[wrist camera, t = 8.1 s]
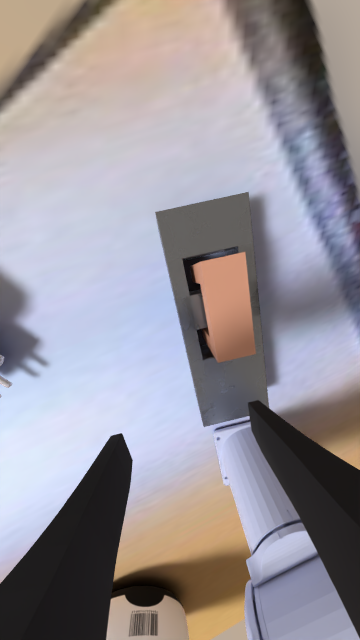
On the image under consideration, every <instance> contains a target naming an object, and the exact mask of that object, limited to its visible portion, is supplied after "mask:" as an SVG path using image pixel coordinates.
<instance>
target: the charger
mask: <svg viewBox="0 0 360 640" xmlns="http://www.w3.org/2000/svg"><path fill="white" fill-rule="evenodd" d="M4 358H5V357H3V356H2V355H0V366H1V365H2V364H3V361H4ZM0 384H2V385H3V386H5V387H7V388H8V387H10V386H11V385H12V383H11V382H9V381H8V380H6V379H5V378H3V377H2V376H0ZM0 397H1V395H0Z"/></svg>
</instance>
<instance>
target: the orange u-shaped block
mask: <svg viewBox="0 0 360 640" xmlns="http://www.w3.org/2000/svg"><path fill="white" fill-rule="evenodd" d="M190 272H191V277H192V282H194V283H199V284H200V285H201V291H202V296H203V302H204V308H205V313H206V319H207V324H208V327H206V328H202V329H201V330H202V335H203V339H204V340H205V342H206V344H207V345H208V347H209V349H210V350H211V352H212V354H213V355H214V357H215V359H216V360H217V362H218V363H220V362H224V361H228V360H232V359H237V358H241V357H245V356H249V355H254V354H256V350H255V341H254V331H253V322H252V312H251V303H250V293H249V284H248V274H247V264H246V255H245V252H242V253H237V254H233V255H228V256H224V257H219V258H215V259H210V260H206V261H201V262H199V263H196V264H194V265H192V266H190Z"/></svg>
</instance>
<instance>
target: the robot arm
mask: <svg viewBox="0 0 360 640" xmlns="http://www.w3.org/2000/svg"><path fill="white" fill-rule="evenodd" d="M248 408H249V416H250V422H247V423H243V424H239V425H235V426H231V427H227V428H223V429H219V430H215V431H214V432H213V436H214V441H215V445H216V450H217V455H218V460H219V464H220V469H221V474H222V479H223V483H224V485H226V486H228V485H230V487H231V490H232V493H233V497H234V500H235V503H236V506H237V510H238V513H239V516H240V519H241V523H242V526H243V529H244V533H245V536H246V539H247V542H248V546H249V549H250V552H251V555H252V556H251V557H250V558H248V559H247V560H246V563H247V566H248V570H249V574H250V577H251V580H249V581H248V582H247V584H246V588H245V606H244V610H245V623H246V631H247V637H248V640H360V470H359V469H357V468H355V467H354V466H352V465H350V464H349V463H347V462H345V461H344V460H342V459H340V458H339V457H337V456H335V455H334V454H332V453H331V452H329V451H328V450H326V449H325V448H323V447H321V446H320V445H319V444H317V443H316V442H314V441H313V440H311V439H310V438H308V437H307V436H305V435H304V434H302V433H301V432H300V431H298V430H297V429H296V428H294V427H293V426H291V425H290V424H289V423H287V422H286V421H285V420H283V419H282V418H281V417H279V416H278V415H277V414H276V413H274V412H273V411H272V410H271V409H269V408H268V407H267V406H266V405H264V404H263V403H262V402H261V401H259V400H256V401H252V402H248ZM132 461H133V460H132V458H131V455H130V453H129V450H128V447H127V445H126V442H125V440H124V437H123V435H122V433H121V434H117V435H113V436H111V437H110V438H109V440H108V441H107V443H106V444H105V446H104V447H103V449H102V450H101V452H100V453H99V455H98V456H97V458H96V459H95V461H94V462H93V464H92V466H91V467H90V468H89V470H88V471H87V473H86V474H85V476H84V477H83V479H82V480H81V482H80V483H79V485H78V486H77V488H76V489H75V490H74V492H73V493H72V495H71V496H70V497H69V499H68V500H67V501H66V503H65V504H64V506H63V507H62V508H61V510H60V511H59V513H58V514H57V515H56V517H55V518H54V519H53V520H52V522H51V523H50V524H49V526H48V527H47V528H46V530H45V531H44V532H43V533H42V535H41V536H40V537H39V538H38V540H37V541H36V542H35V543H34V545H33V546H32V547H31V548H30V550H29V551H28V552H27V553H26V554H25V556H24V557H23V558H22V559H21V560H20V561H19V563H18V564H17V565H16V566H15V567H14V568H13V570H12V571H11V572H10V573H9V574H8V575H7V577H6V578H5V579H4V580H3V581H2V583H1V584H0V640H106V637H107V628H108V619H109V610H110V602H111V594H112V587H113V579H114V571H115V564H116V558H117V552H118V547H119V542H120V536H121V531H122V526H123V521H124V516H125V510H126V505H127V500H128V494H129V489H130V482H131V473H132Z"/></svg>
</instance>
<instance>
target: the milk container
mask: <svg viewBox="0 0 360 640" xmlns="http://www.w3.org/2000/svg"><path fill="white" fill-rule="evenodd" d="M106 640H189V633H188V626H187V620H186V615H185V611H184V608H183V605H182V604H181V602H180V601H179V600H178V599H177V597H176V596H175V595H174V594H173V593H171V592H169V591H167V590H165V589H163V588H158V587H153V586H133V587H129V588H125V589H120V590H117V591H115V592H113V593H112V594H111V602H110V610H109V619H108V628H107V637H106Z"/></svg>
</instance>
